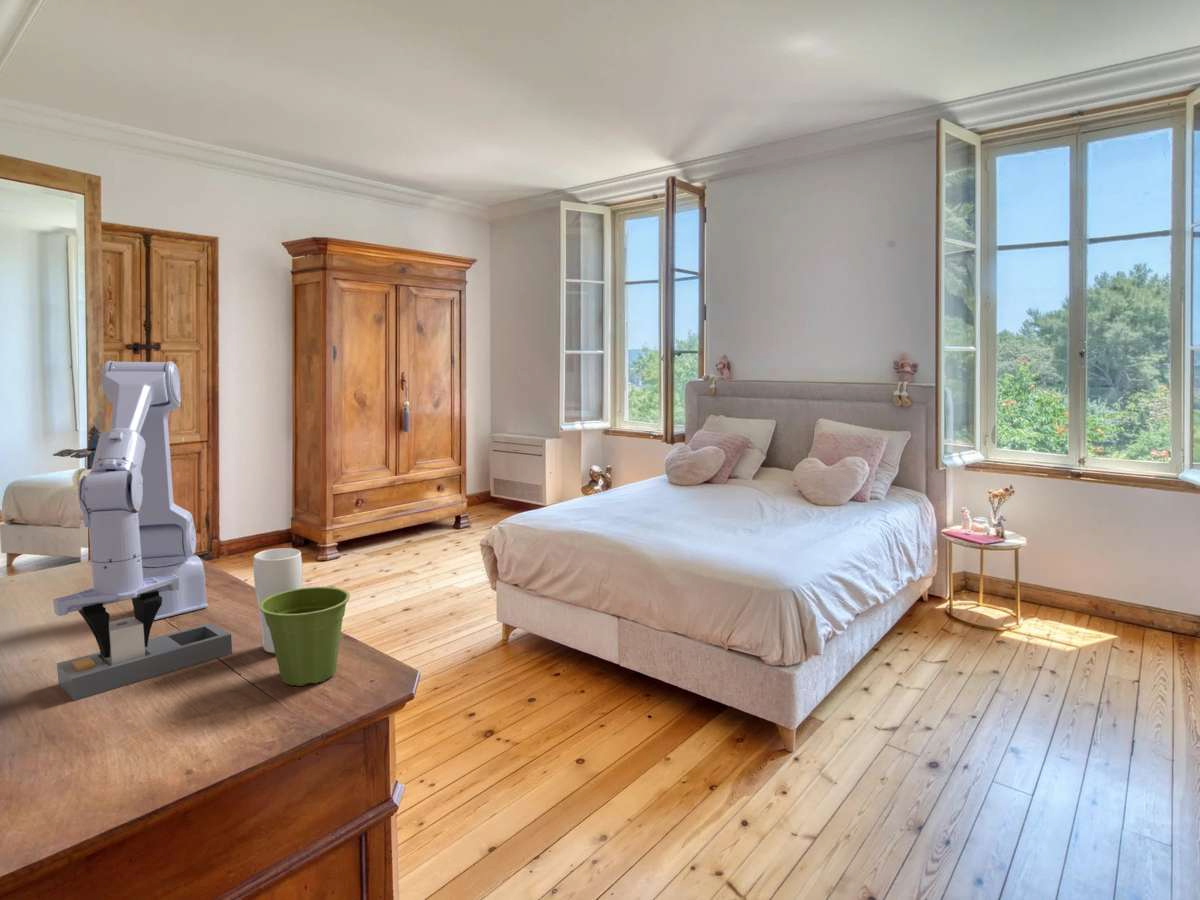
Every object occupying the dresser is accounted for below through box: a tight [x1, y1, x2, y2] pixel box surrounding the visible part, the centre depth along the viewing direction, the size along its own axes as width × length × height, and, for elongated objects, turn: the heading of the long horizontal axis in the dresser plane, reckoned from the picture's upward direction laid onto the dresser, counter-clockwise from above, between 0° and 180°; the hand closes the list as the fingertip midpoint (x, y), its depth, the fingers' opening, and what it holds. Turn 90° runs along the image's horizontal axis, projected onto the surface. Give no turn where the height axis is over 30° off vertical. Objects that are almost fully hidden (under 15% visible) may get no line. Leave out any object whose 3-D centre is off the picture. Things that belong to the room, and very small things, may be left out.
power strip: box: [56, 622, 233, 701], centre depth 103 cm, size 20×7×4 cm, turn 140°
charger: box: [103, 616, 146, 666], centre depth 100 cm, size 4×4×6 cm
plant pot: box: [259, 586, 351, 687], centre depth 101 cm, size 12×12×11 cm
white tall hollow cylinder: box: [253, 547, 304, 654], centre depth 110 cm, size 7×7×15 cm
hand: (124, 650), depth 100 cm, fingers closed on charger, 4 cm apart
